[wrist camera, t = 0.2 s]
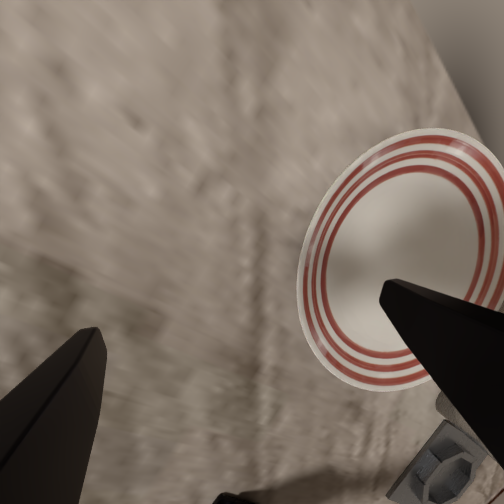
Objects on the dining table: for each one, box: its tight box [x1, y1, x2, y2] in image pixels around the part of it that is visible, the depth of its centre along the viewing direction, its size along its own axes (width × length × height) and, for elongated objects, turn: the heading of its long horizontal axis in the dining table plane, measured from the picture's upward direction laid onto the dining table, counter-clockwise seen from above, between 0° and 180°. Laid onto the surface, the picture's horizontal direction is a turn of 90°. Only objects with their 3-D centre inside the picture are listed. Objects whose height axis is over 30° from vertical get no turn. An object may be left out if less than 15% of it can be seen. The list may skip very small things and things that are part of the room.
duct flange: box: [386, 420, 488, 504], centre depth 39 cm, size 14×14×2 cm
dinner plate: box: [296, 128, 504, 392], centre depth 28 cm, size 28×27×3 cm
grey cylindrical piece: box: [436, 391, 498, 463], centre depth 31 cm, size 5×5×12 cm
